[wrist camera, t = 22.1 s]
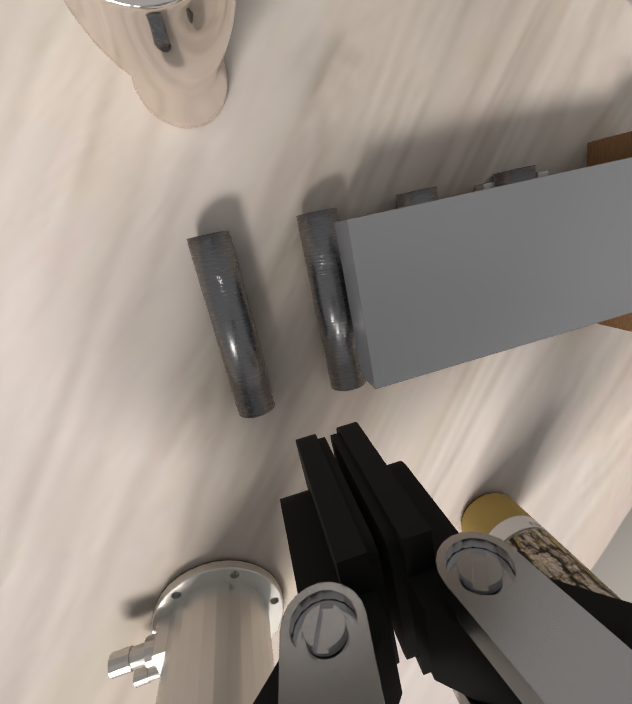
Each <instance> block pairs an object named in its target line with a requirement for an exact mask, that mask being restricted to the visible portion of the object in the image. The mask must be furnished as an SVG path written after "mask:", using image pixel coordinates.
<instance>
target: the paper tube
mask: <svg viewBox="0 0 632 704" xmlns="http://www.w3.org/2000/svg"><path fill="white" fill-rule="evenodd" d="M461 526H462V532H472V531H475V532H481V533H487V534H490V535H492V536H495V537H497V538H500V539H501V540H503V541H504V542H506V543H507V544H509V545H510V546H512V547H513V548H514V549H515V550H516V551H517V552H519V553H520V554H521V555H522V556H523V557H524V558H526V559H527V560H528V561H529V562H530V563H531V564H532V565H534V566H535V567H536V568H537V569H538V570H539V571H541V572H542V573H543V574H544V575H545V576H546V577H548V578H551V579H554V580H557V581H560V582H564V583H567V584H570V585H574V586H577V587H580V588H584V589H587V590H590V591H593V592H597V593H600V594H603V595H607V596H610V597H613V598H617V599H620V598H619V597H618V596H617V595H616V594H615V593H614V592H612V591H611V590H610V589H609V588H608V587H607V586H606V585H605V584H604V583H603V582H602V581H601V580H600V579H598V578H597V577H596V576H595V575H594V574H593V573H592V572H591V571H590V570H589V569H588V568H587V567H585V566H584V565H583V564H582V563H581V562H580V561H579V560H578V559H577V558H576V557H575V556H573V555H572V554H571V553H570V552H569V551H568V550H567V549H566V548H565V547H564V546H563V545H562V544H560V543H559V542H558V541H557V540H556V539H555V538H554V537H553V536H552V535H551V534H550V533H548V532H547V531H546V530H545V529H544V528H543V527H542V526H541V525H540V524H539V523H538V522H537V521H536V520H534V519H533V518H532V517H531V516H530V515H529V514H528V513H526V512H525V511H524V510H523V509H522V508H521V507H520V506H519V505H518V504H517V503H516V502H515V501H513V500H512V499H511V498H510V497H508V496H507V495H505V494H501V493H489V494H485V495H483V496H481V497H479V498H477V499H476V500H475V501H473V502H472V503H471V504H470V505H469V506H468V508H467V509H466V511H465V513H464V515H463V518H462V523H461ZM620 600H621V599H620Z"/></svg>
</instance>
